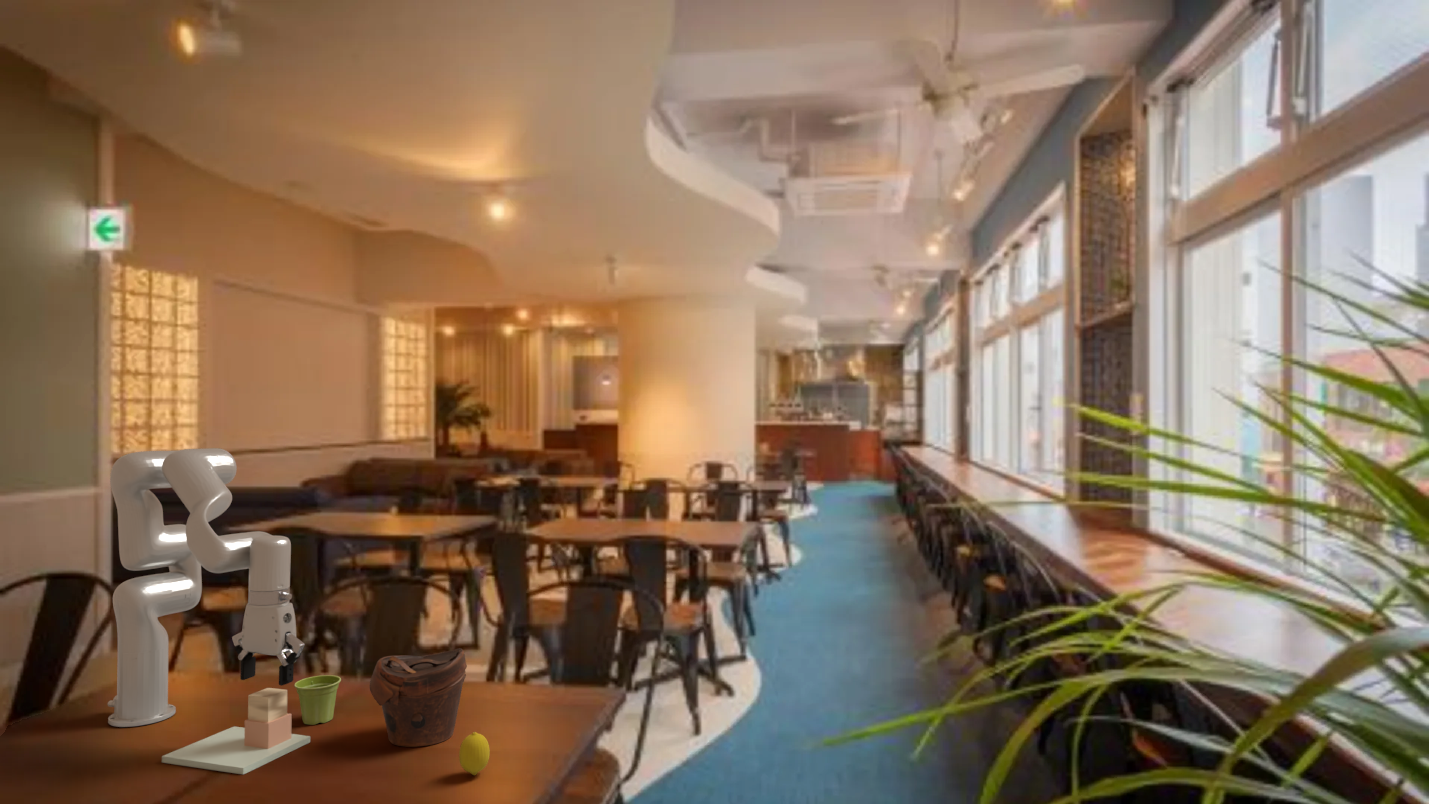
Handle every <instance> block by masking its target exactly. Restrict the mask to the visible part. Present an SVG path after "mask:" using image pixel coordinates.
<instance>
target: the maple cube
mask: <svg viewBox="0 0 1429 804" xmlns="http://www.w3.org/2000/svg"><path fill="white" fill-rule="evenodd" d="M247 696H248V698H247V702H248V703H247V705H248V707H247V719H248V720H252V721H260V722H270V721H273V720H275V719H277V718H280V717H282V716H284V715H287V713H288V689H283V688H274V687H273V688H272V687H266V688H264V689H261V690H259V691H255V692H253V693H251V694H248V695H247Z"/></svg>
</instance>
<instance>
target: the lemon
mask: <svg viewBox="0 0 1429 804" xmlns="http://www.w3.org/2000/svg"><path fill="white" fill-rule="evenodd" d="M459 747H460V748H459V752H458V754H459V755H458V758H459V759H458V760H459V764H460V766H461V768H462V769H463V770H464V771H465V772H467V773H470V774H471V776H476V775H477V774H478V773H479V772H481V771H483V770H484V769H485V768H486V766H487V765H488V764H489V759H490V753H491V751H490V745H489V742H488V740H487V738H486V737H485V736H484V735H483V734H481V733H478V732H476V731H474V732H471V734H468V735H467V736H466V737H465V738H464V739H463V740H462V741H461V745H460V746H459Z"/></svg>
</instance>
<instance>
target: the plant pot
mask: <svg viewBox="0 0 1429 804" xmlns="http://www.w3.org/2000/svg"><path fill="white" fill-rule="evenodd" d="M341 681H342V678H341V677H340V676H338V675H335V674H334V675H332V674H330V675H329V674H328V675H327V674H325V675H324V674H323V675H314V676H310V677H306V678H302V679H300V680H298V681H296V682H294V686H293V687H294V688H295V690H296V692H297V694H298V698H299V699H298V700H299V706H300V711H301V719H302V723H303V724H304V725H309V726H310V725H311V726H313V725H314V726H315V725H317V724H319V723H321V724H325V723H328V722H330V721H331V720H333V719H334V712H335V706H336V698H337V691H338V689H339V685H340V683H341Z"/></svg>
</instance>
